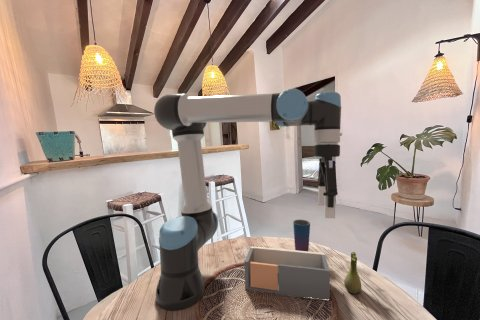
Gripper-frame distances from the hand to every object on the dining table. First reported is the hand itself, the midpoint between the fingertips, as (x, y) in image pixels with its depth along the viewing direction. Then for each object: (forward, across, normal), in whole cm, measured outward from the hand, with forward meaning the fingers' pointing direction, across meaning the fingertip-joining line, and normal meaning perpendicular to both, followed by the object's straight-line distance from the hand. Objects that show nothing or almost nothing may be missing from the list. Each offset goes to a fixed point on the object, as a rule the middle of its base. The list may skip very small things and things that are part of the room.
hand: (325, 210), depth 68 cm
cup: (+26, +20, +6) cm, 33 cm away
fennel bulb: (+26, +1, -9) cm, 28 cm away
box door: (+25, -5, +19) cm, 32 cm away
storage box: (+26, 0, +12) cm, 29 cm away
